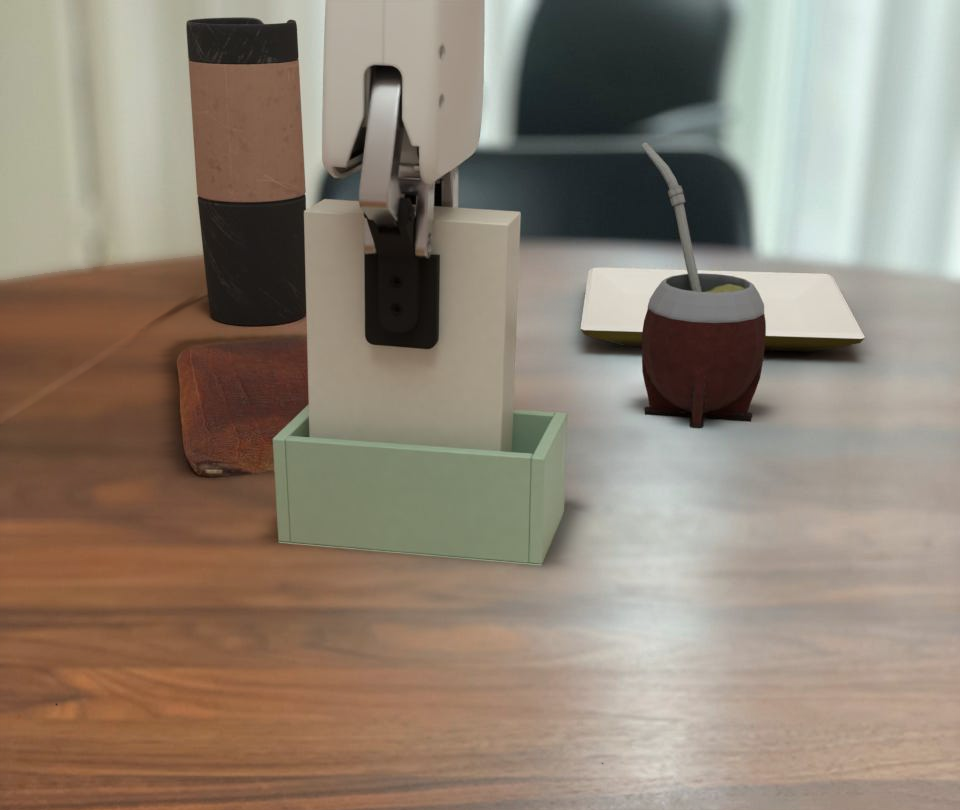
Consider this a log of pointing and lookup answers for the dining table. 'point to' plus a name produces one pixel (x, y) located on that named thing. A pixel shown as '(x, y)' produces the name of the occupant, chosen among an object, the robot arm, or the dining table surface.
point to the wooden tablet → (239, 402)
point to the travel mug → (249, 167)
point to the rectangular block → (411, 371)
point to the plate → (786, 296)
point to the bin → (424, 493)
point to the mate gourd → (701, 336)
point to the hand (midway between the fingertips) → (412, 330)
